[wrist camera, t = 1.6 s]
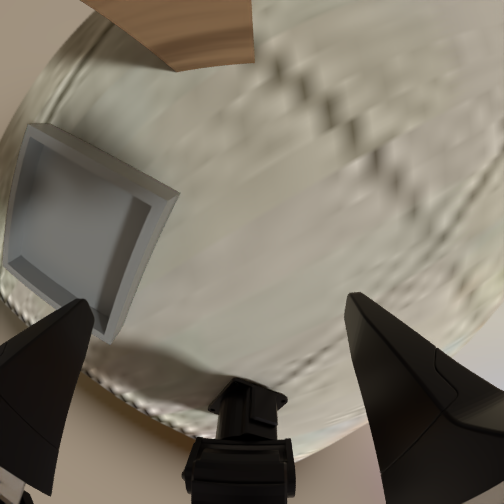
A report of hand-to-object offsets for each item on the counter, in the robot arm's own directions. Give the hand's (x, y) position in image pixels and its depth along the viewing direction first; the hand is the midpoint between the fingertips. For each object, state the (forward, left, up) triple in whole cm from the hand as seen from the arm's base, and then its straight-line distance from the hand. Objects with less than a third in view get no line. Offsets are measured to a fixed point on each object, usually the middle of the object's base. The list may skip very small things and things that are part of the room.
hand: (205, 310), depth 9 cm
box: (-7, +11, -12) cm, 18 cm away
